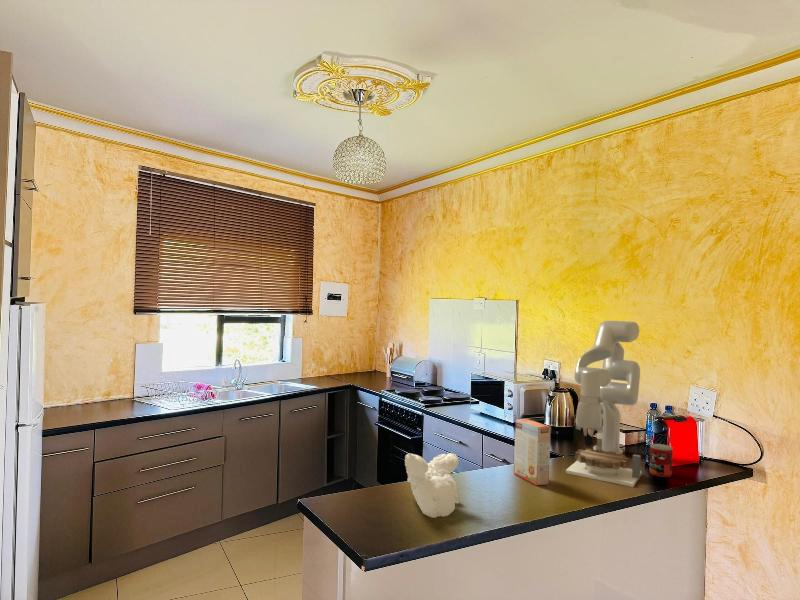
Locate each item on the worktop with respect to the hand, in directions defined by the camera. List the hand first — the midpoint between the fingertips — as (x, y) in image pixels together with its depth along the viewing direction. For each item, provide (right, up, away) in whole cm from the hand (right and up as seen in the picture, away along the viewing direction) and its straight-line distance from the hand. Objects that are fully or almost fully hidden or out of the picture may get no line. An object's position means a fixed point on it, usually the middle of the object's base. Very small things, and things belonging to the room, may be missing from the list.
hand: (588, 445), depth 204 cm
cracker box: (-28, -7, -19) cm, 35 cm away
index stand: (+3, -9, -9) cm, 13 cm away
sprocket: (+2, -4, -8) cm, 9 cm away
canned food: (+26, -10, -6) cm, 28 cm away
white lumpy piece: (-67, -5, -48) cm, 82 cm away
